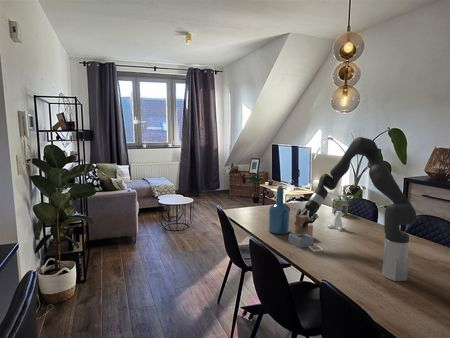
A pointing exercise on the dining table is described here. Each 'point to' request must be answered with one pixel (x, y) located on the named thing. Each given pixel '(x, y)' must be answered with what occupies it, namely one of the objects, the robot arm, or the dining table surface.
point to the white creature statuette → (337, 221)
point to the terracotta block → (310, 229)
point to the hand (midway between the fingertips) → (299, 226)
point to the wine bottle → (279, 215)
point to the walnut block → (300, 224)
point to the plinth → (301, 240)
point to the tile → (315, 248)
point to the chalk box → (340, 206)
